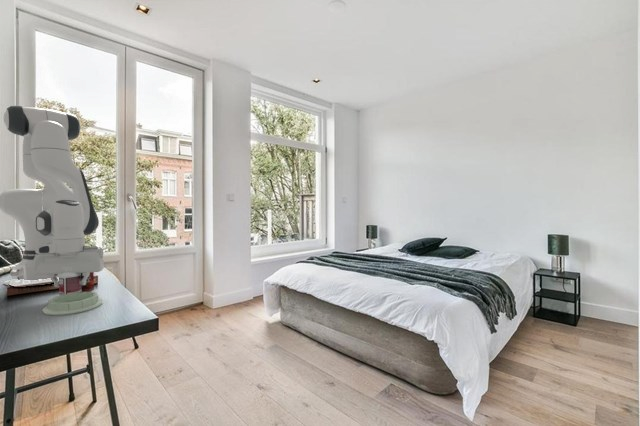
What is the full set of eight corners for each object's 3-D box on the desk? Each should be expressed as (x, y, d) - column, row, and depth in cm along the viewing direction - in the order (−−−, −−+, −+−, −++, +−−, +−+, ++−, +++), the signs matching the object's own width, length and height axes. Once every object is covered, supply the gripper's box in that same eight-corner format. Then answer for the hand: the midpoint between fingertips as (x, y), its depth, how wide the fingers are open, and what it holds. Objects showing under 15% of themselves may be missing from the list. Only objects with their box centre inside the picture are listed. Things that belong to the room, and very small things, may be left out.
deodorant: (83, 291, 119) (82, 251, 118) (70, 291, 120) (69, 251, 119) (97, 287, 124) (97, 249, 124) (85, 286, 126) (84, 249, 125)
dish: (30, 312, 96) (30, 302, 96) (81, 298, 111) (81, 289, 111) (65, 317, 92) (64, 307, 92) (113, 302, 106) (113, 293, 106)
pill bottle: (85, 294, 115) (84, 264, 115) (76, 299, 109) (75, 267, 109) (65, 295, 114) (64, 264, 114) (55, 300, 108) (54, 268, 108)
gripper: (106, 244, 117) (107, 281, 117) (41, 246, 112) (42, 285, 112) (99, 246, 110) (100, 286, 111) (29, 248, 106) (30, 290, 106)
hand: (70, 285), depth 111 cm, fingers closed on pill bottle, 6 cm apart
